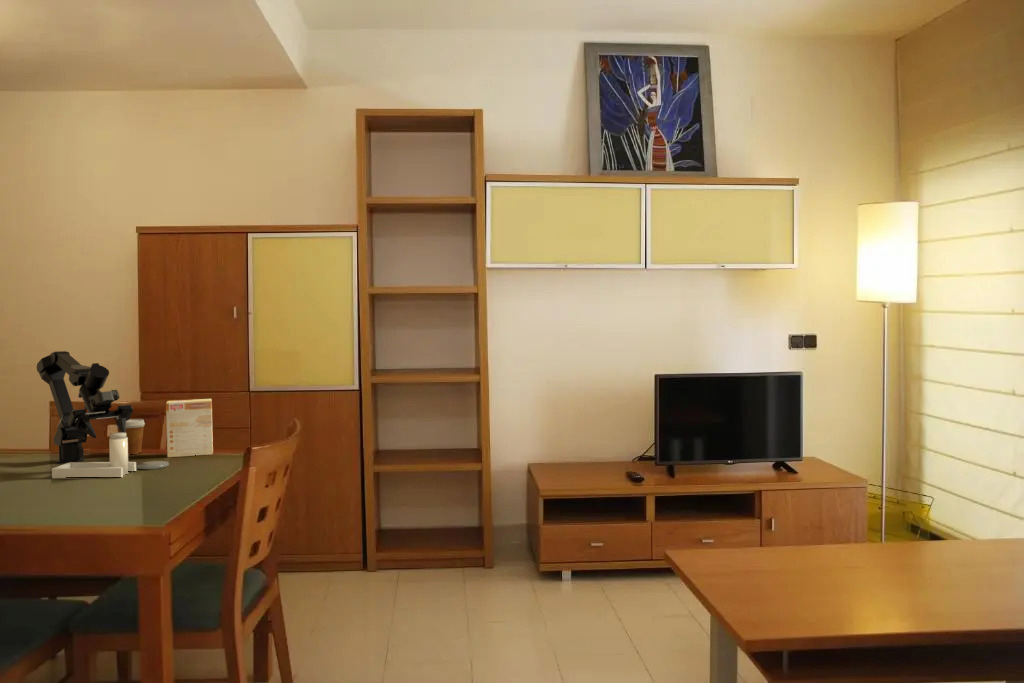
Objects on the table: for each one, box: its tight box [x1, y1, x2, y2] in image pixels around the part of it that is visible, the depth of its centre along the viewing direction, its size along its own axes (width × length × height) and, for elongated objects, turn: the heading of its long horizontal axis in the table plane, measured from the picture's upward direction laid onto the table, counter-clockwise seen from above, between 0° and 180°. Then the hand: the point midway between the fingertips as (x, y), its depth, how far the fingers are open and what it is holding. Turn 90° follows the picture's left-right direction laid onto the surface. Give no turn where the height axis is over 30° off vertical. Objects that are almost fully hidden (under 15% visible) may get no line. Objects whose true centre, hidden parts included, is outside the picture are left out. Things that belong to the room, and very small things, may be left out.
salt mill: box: [108, 431, 129, 476], centre depth 250 cm, size 5×5×13 cm
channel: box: [51, 461, 137, 479], centre depth 250 cm, size 21×10×3 cm, turn 91°
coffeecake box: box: [165, 398, 214, 458], centre depth 284 cm, size 15×7×20 cm, turn 110°
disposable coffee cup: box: [115, 418, 146, 456], centre depth 286 cm, size 10×10×12 cm
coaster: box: [136, 460, 169, 470], centre depth 262 cm, size 10×10×1 cm
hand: (110, 435), depth 253 cm, fingers open, 9 cm apart
